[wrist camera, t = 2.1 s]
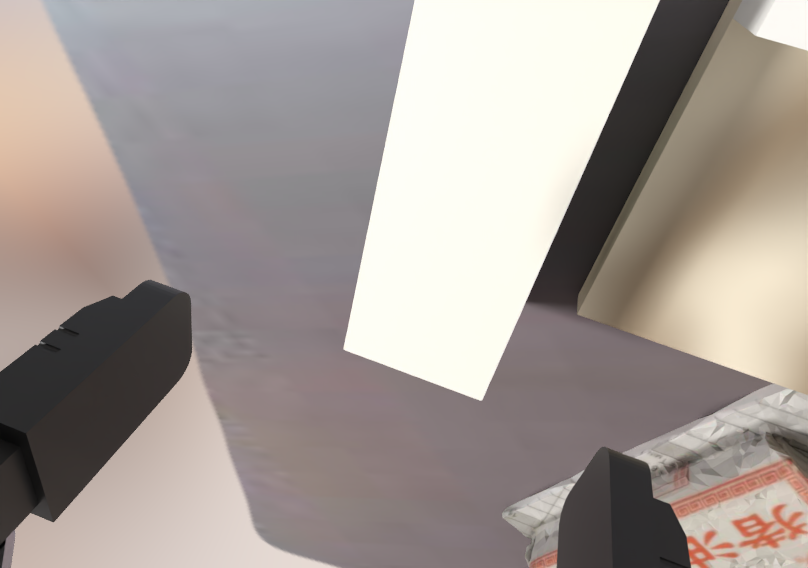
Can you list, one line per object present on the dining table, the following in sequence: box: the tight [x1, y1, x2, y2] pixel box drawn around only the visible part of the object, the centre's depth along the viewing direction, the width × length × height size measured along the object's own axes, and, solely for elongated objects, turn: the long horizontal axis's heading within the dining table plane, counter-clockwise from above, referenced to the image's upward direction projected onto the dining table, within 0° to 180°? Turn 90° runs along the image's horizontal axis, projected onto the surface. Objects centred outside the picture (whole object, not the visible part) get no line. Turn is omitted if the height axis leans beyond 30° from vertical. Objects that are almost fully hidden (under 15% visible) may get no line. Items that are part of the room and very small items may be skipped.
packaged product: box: [502, 384, 808, 568], centre depth 28 cm, size 18×5×10 cm
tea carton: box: [343, 0, 660, 401], centre depth 19 cm, size 6×14×7 cm, turn 167°
